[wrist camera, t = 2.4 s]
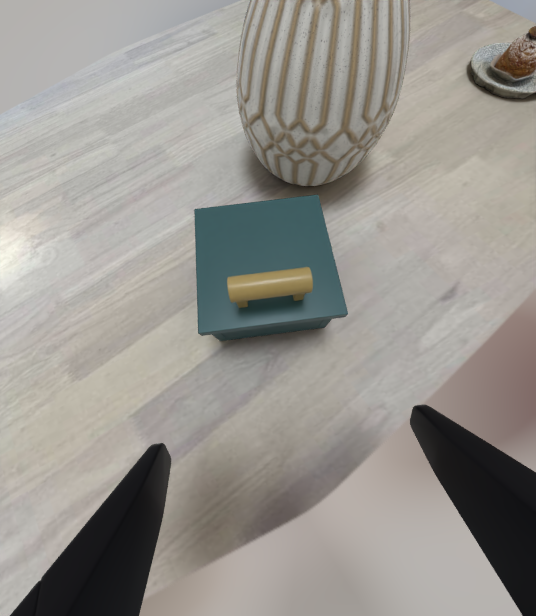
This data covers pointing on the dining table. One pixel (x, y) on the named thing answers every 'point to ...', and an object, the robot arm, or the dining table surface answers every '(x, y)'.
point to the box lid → (265, 266)
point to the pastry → (507, 67)
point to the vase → (319, 82)
